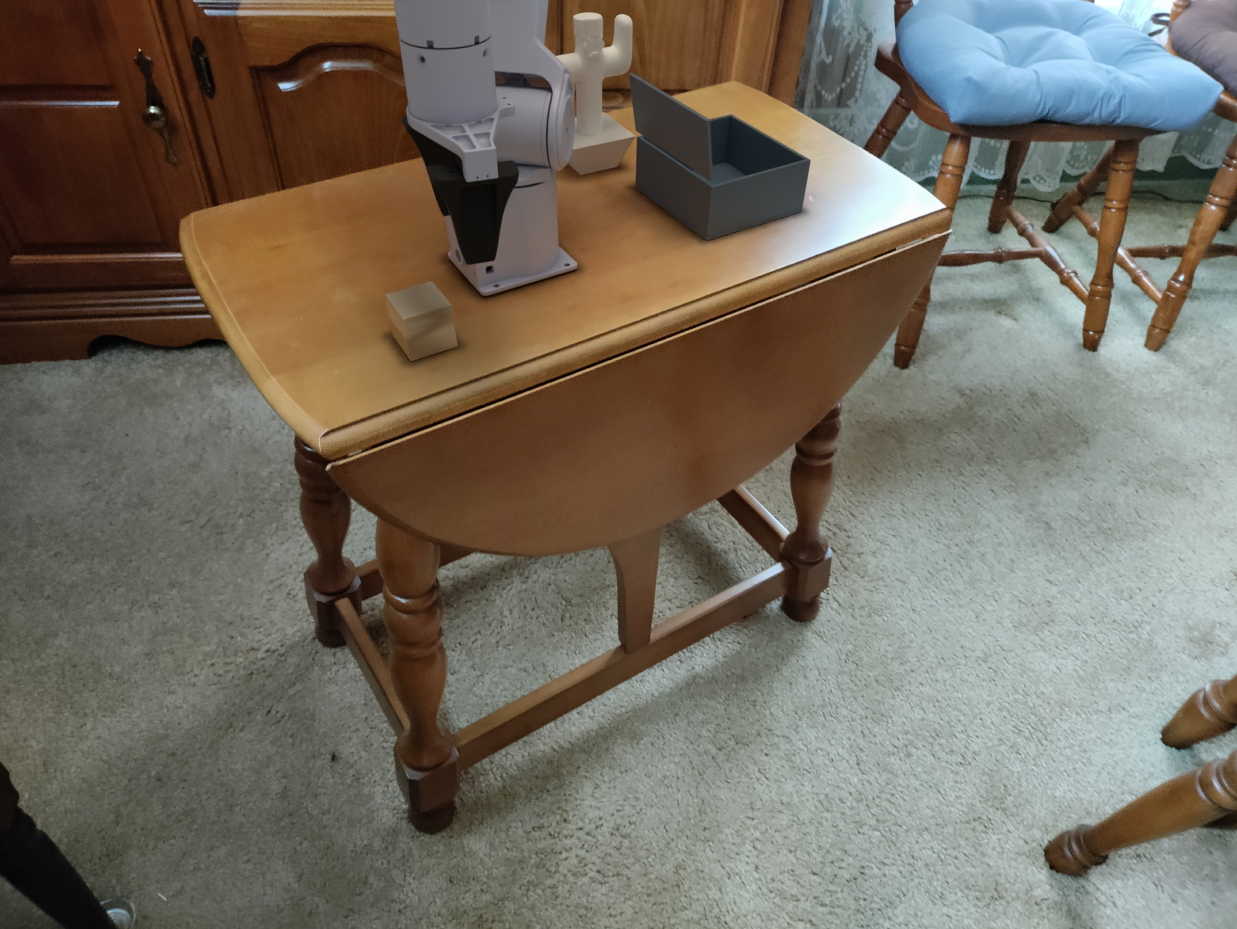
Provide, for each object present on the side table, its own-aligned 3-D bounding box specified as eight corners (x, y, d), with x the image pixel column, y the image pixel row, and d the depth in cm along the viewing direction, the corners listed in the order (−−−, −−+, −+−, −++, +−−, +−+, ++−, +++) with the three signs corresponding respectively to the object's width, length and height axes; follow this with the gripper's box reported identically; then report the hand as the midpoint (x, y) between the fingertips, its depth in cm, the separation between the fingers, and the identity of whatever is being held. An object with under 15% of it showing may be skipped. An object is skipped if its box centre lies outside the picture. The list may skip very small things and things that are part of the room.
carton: (706, 240, 82) (711, 187, 78) (635, 187, 90) (636, 136, 86) (801, 211, 87) (811, 159, 83) (726, 163, 94) (731, 113, 91)
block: (410, 361, 68) (402, 319, 65) (392, 336, 70) (384, 294, 67) (458, 346, 69) (452, 304, 66) (438, 322, 72) (432, 280, 69)
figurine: (536, 158, 94) (528, 10, 84) (612, 142, 98) (613, -3, 87) (565, 185, 90) (560, 32, 80) (643, 167, 93) (649, 18, 83)
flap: (713, 179, 78) (710, 181, 78) (638, 129, 86) (635, 130, 86) (710, 119, 74) (706, 120, 74) (631, 72, 81) (628, 73, 81)
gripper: (541, 66, 50) (549, 274, 59) (480, -2, 59) (495, 186, 69) (419, 78, 48) (447, 292, 57) (377, 7, 58) (406, 199, 67)
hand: (467, 235), depth 63 cm, fingers open, 7 cm apart
